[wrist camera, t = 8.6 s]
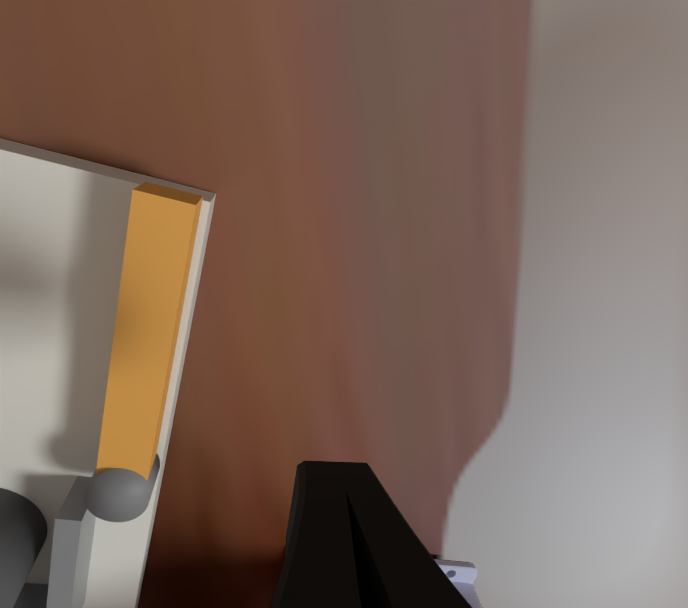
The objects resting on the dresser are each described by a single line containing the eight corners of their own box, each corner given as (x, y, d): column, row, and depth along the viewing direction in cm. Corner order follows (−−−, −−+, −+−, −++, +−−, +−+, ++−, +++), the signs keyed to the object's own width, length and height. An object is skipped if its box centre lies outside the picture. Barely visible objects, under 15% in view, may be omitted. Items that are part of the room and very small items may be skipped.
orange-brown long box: (210, 197, 14) (202, 209, 12) (156, 488, 18) (144, 525, 16) (138, 179, 13) (120, 189, 12) (97, 481, 17) (81, 519, 16)
